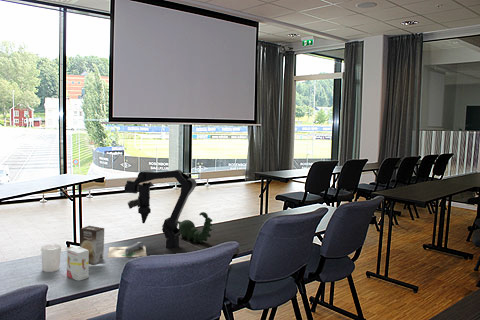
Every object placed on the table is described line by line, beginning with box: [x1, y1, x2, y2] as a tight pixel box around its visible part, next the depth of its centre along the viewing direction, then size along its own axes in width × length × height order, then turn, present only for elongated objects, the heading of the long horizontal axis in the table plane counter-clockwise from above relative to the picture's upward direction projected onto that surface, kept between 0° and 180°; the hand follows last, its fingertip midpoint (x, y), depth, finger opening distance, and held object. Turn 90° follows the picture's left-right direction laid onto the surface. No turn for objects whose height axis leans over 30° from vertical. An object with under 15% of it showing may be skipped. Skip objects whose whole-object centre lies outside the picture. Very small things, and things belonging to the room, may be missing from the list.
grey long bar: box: [125, 241, 144, 255], centre depth 204 cm, size 14×4×3 cm, turn 165°
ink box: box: [66, 246, 90, 281], centre depth 170 cm, size 9×5×12 cm, turn 55°
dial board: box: [107, 245, 147, 259], centre depth 204 cm, size 18×17×1 cm
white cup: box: [40, 243, 62, 273], centre depth 177 cm, size 8×8×10 cm
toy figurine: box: [178, 211, 213, 244], centre depth 232 cm, size 9×19×25 cm
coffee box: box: [79, 225, 105, 266], centre depth 189 cm, size 9×6×16 cm
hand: (143, 223), depth 219 cm, fingers closed
